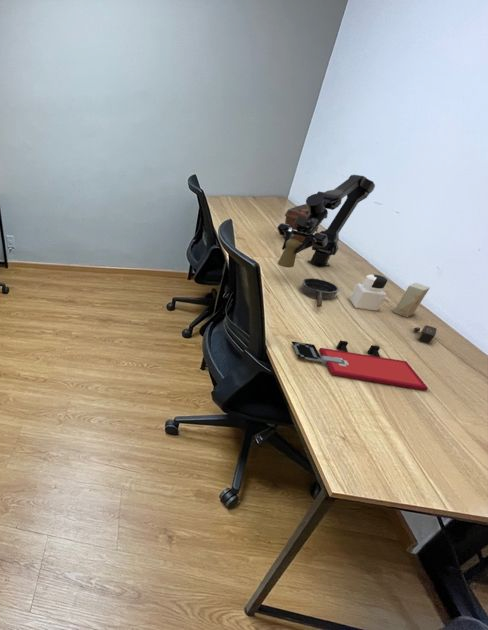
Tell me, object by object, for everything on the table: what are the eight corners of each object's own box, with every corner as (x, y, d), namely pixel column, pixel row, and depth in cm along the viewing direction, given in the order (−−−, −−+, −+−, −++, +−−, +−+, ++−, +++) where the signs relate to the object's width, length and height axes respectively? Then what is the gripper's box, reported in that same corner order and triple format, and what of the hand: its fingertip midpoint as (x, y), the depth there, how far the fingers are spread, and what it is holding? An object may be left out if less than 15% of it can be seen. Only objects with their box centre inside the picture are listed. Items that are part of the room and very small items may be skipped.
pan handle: (316, 294, 133) (318, 290, 132) (321, 295, 132) (322, 291, 131) (315, 307, 124) (317, 303, 124) (320, 308, 124) (322, 304, 123)
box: (406, 317, 122) (423, 290, 116) (392, 312, 125) (408, 285, 119) (413, 313, 124) (430, 287, 118) (399, 308, 127) (415, 282, 121)
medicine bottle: (370, 301, 131) (385, 273, 125) (377, 311, 126) (394, 282, 119) (348, 299, 133) (362, 271, 127) (354, 308, 128) (370, 279, 121)
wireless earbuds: (431, 335, 113) (437, 327, 111) (429, 344, 108) (434, 336, 107) (413, 329, 115) (418, 321, 114) (410, 338, 111) (415, 330, 110)
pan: (300, 283, 145) (303, 276, 143) (334, 290, 139) (338, 282, 137) (299, 295, 136) (302, 287, 134) (335, 303, 131) (339, 295, 129)
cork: (292, 268, 141) (301, 243, 135) (276, 265, 144) (284, 240, 138) (294, 263, 145) (304, 239, 139) (279, 260, 148) (287, 236, 142)
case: (279, 242, 186) (291, 209, 176) (276, 231, 202) (286, 200, 192) (317, 246, 180) (331, 213, 171) (310, 234, 196) (322, 203, 186)
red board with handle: (288, 340, 110) (301, 370, 98) (291, 333, 109) (305, 363, 97) (397, 356, 104) (425, 391, 92) (402, 349, 102) (431, 384, 90)
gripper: (287, 203, 141) (263, 234, 142) (336, 214, 127) (309, 248, 128) (291, 219, 148) (268, 248, 149) (338, 230, 135) (312, 262, 136)
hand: (288, 251), depth 141 cm, fingers closed on cork, 5 cm apart
